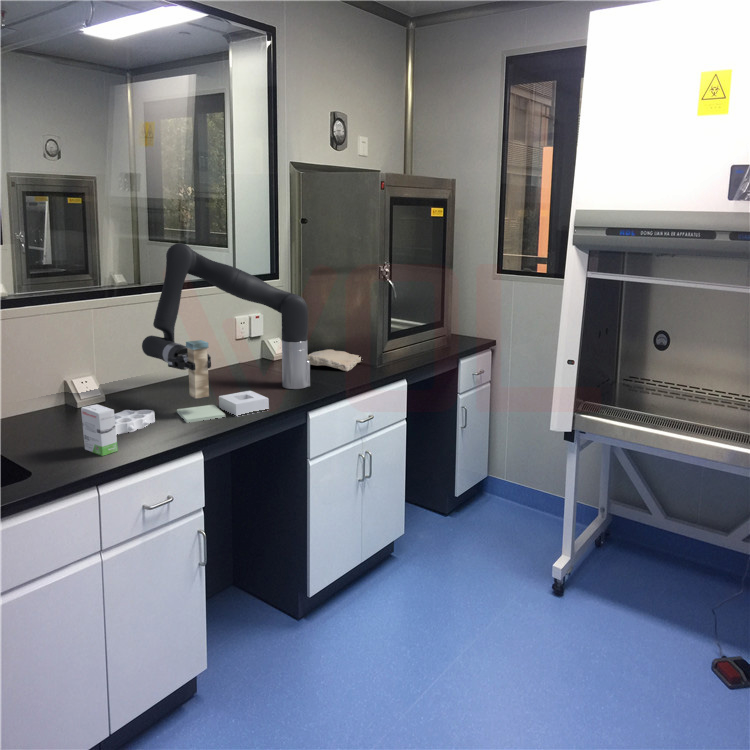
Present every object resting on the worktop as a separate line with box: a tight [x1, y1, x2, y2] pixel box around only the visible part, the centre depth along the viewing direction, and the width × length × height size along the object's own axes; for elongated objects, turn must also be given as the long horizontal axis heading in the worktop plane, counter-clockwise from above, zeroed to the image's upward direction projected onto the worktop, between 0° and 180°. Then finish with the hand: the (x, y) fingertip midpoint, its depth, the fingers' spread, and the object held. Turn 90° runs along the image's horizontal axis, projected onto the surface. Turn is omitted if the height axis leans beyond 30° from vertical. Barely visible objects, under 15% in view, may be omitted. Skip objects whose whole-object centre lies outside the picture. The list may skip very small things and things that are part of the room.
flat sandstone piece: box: [308, 349, 362, 372], centre depth 278 cm, size 24×8×20 cm
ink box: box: [80, 403, 119, 457], centre depth 177 cm, size 9×5×12 cm, turn 53°
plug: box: [185, 339, 210, 399], centre depth 207 cm, size 5×5×17 cm
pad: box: [176, 404, 226, 424], centre depth 210 cm, size 12×12×1 cm
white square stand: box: [218, 390, 270, 417], centre depth 217 cm, size 12×12×4 cm
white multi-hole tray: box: [114, 409, 156, 436], centre depth 198 cm, size 3×18×15 cm
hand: (201, 366), depth 204 cm, fingers closed on plug, 4 cm apart
